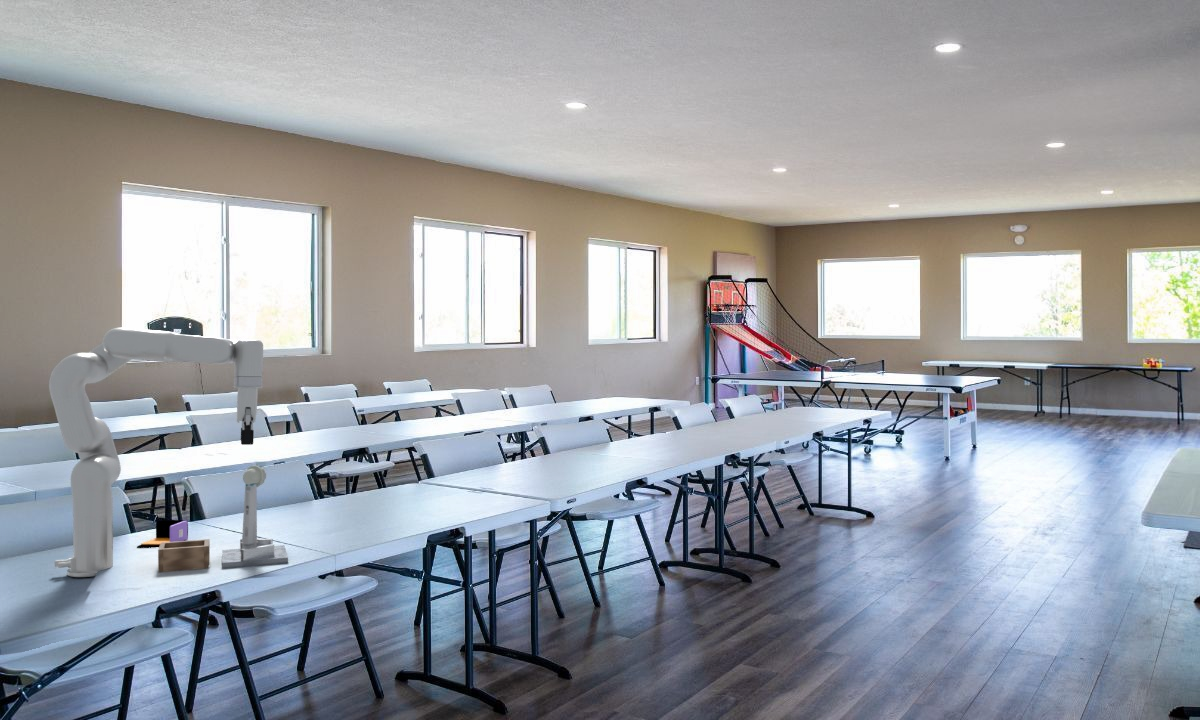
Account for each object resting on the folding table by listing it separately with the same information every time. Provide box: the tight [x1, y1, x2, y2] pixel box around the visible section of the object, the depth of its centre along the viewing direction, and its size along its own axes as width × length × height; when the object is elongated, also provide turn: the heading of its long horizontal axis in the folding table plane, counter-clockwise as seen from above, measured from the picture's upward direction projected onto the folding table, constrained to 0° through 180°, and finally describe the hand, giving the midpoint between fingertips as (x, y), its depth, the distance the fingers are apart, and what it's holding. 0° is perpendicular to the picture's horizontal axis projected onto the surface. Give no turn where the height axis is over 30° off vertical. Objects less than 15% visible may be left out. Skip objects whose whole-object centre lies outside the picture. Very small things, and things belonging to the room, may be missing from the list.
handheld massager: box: [241, 464, 267, 549], centre depth 257 cm, size 5×7×25 cm
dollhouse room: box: [136, 519, 189, 549], centre depth 278 cm, size 12×12×7 cm
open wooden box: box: [157, 538, 211, 573], centre depth 248 cm, size 12×10×6 cm
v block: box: [221, 538, 289, 569], centre depth 257 cm, size 17×18×4 cm
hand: (246, 442), depth 257 cm, fingers open, 9 cm apart
